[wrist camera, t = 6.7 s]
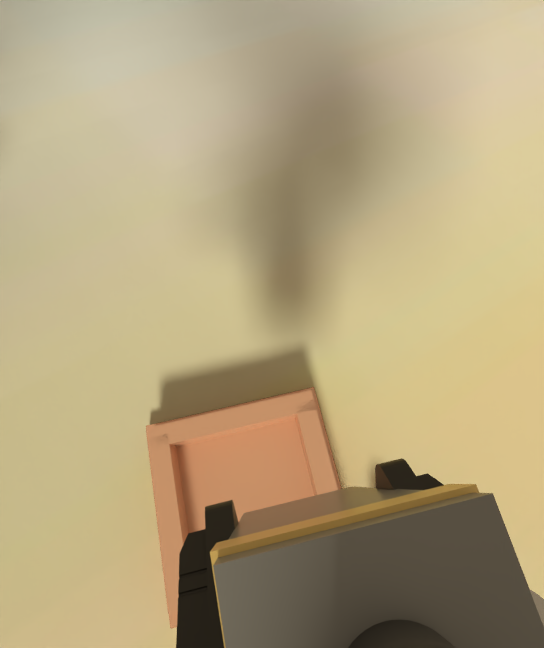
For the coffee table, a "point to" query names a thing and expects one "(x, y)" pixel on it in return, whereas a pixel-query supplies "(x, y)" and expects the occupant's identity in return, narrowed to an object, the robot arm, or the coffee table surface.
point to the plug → (375, 573)
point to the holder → (235, 467)
